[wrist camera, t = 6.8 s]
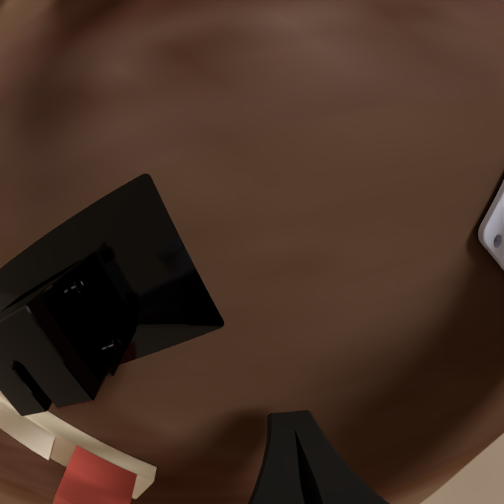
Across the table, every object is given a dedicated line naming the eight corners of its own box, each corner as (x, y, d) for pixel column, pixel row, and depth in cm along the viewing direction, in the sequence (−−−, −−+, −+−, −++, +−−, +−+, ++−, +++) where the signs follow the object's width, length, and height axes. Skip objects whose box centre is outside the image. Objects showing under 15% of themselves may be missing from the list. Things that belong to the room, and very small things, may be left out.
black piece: (43, 396, 12) (4, 459, 8) (-36, 272, 10) (-100, 314, 6) (275, 318, 11) (294, 414, 7) (180, 120, 9) (130, 96, 5)
